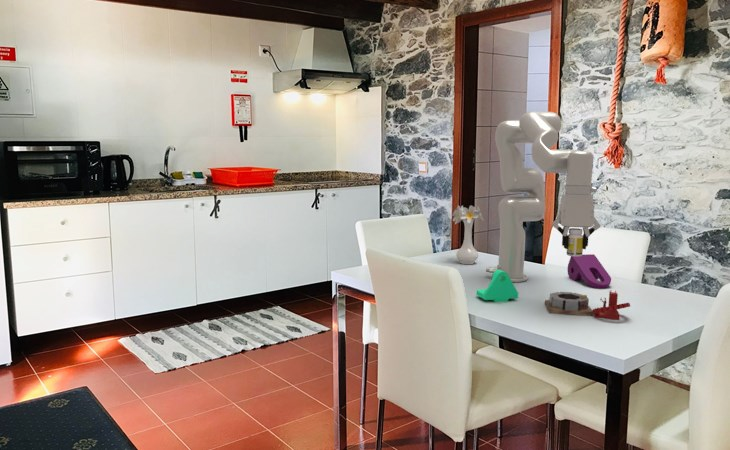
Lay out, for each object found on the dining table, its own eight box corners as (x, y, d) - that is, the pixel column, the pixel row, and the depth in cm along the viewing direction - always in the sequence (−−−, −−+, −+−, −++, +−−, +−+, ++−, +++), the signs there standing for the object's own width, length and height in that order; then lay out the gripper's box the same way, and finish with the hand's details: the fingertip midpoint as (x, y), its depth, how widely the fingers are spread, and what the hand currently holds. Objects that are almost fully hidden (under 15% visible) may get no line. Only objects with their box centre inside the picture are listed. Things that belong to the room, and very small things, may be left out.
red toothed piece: (604, 309, 195) (605, 284, 194) (636, 319, 185) (639, 292, 184) (580, 314, 190) (582, 287, 189) (612, 324, 180) (614, 297, 179)
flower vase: (468, 257, 274) (470, 202, 270) (489, 266, 257) (492, 207, 253) (442, 259, 269) (443, 202, 266) (462, 268, 252) (464, 208, 248)
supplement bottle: (582, 254, 195) (583, 228, 194) (582, 257, 190) (584, 230, 189) (566, 253, 196) (567, 227, 195) (566, 256, 192) (567, 229, 191)
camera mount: (507, 295, 212) (508, 266, 210) (518, 301, 204) (519, 271, 203) (475, 297, 209) (476, 267, 207) (484, 303, 201) (486, 272, 200)
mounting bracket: (608, 301, 226) (588, 271, 241) (615, 284, 221) (594, 254, 236) (584, 302, 225) (565, 271, 239) (591, 284, 220) (571, 254, 235)
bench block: (549, 313, 190) (549, 309, 190) (544, 303, 201) (544, 300, 201) (593, 315, 188) (593, 311, 188) (585, 305, 199) (586, 302, 199)
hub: (552, 309, 190) (553, 298, 189) (547, 300, 201) (548, 289, 200) (590, 311, 188) (591, 300, 187) (583, 301, 199) (584, 290, 198)
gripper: (603, 190, 193) (599, 247, 196) (548, 189, 195) (545, 245, 198) (609, 192, 186) (605, 251, 188) (552, 191, 188) (548, 249, 191)
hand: (574, 247), depth 193 cm, fingers closed on supplement bottle, 4 cm apart
